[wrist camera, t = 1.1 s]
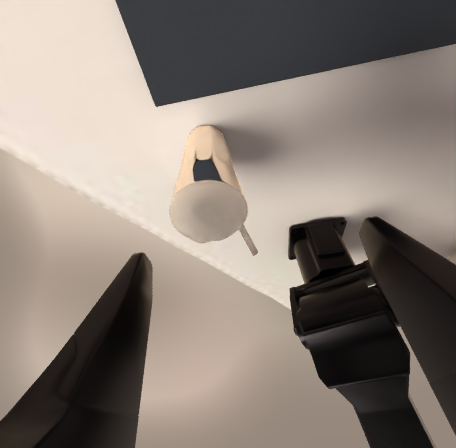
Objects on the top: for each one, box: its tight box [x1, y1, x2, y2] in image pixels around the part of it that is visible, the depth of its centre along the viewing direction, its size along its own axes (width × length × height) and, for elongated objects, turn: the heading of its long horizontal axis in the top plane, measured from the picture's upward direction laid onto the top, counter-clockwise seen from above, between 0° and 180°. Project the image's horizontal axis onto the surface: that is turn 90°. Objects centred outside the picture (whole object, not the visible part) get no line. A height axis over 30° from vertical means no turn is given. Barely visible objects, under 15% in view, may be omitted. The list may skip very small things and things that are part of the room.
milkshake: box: [169, 125, 258, 256], centre depth 16 cm, size 4×5×10 cm
